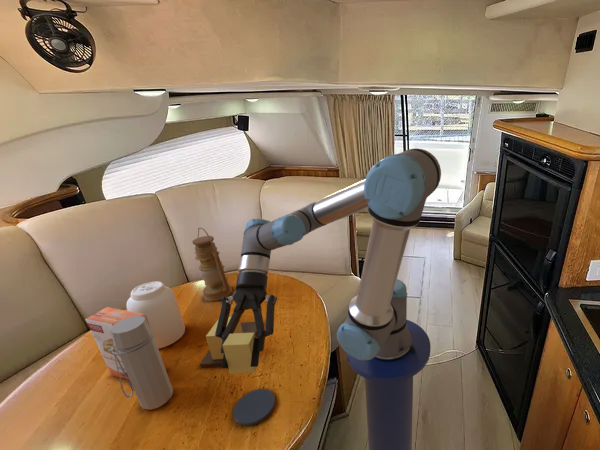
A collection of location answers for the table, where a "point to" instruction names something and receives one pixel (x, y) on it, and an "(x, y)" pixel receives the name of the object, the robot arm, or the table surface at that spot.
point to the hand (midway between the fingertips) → (240, 367)
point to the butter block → (218, 340)
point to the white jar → (158, 311)
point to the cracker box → (109, 335)
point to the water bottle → (141, 362)
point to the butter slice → (239, 352)
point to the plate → (254, 407)
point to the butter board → (208, 362)
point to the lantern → (211, 269)
